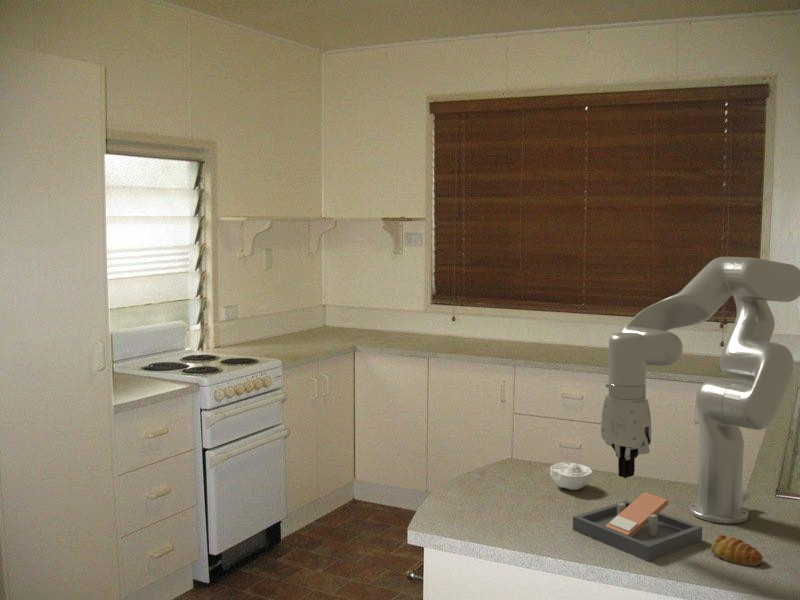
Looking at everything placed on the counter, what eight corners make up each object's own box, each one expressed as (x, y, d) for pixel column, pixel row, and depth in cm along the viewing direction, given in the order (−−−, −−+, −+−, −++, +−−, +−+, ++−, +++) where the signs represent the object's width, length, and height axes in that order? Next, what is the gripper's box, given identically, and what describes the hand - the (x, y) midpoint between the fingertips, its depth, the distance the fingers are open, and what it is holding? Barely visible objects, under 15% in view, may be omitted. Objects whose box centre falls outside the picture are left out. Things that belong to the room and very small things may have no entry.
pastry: (768, 561, 157) (769, 543, 156) (753, 571, 152) (753, 552, 152) (723, 547, 164) (723, 529, 164) (707, 556, 159) (707, 538, 159)
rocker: (644, 496, 176) (643, 490, 175) (669, 504, 170) (668, 499, 170) (604, 530, 169) (603, 524, 168) (629, 540, 163) (628, 534, 163)
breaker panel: (625, 512, 183) (626, 489, 182) (701, 540, 167) (702, 514, 166) (572, 529, 173) (573, 504, 172) (648, 561, 156) (649, 533, 156)
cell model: (580, 479, 208) (581, 454, 207) (598, 494, 196) (598, 468, 195) (543, 480, 206) (544, 455, 206) (559, 496, 194) (559, 469, 194)
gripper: (587, 388, 169) (587, 470, 170) (645, 400, 156) (644, 489, 158) (610, 383, 173) (609, 463, 175) (668, 394, 161) (667, 481, 163)
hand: (626, 475), depth 167 cm, fingers closed
